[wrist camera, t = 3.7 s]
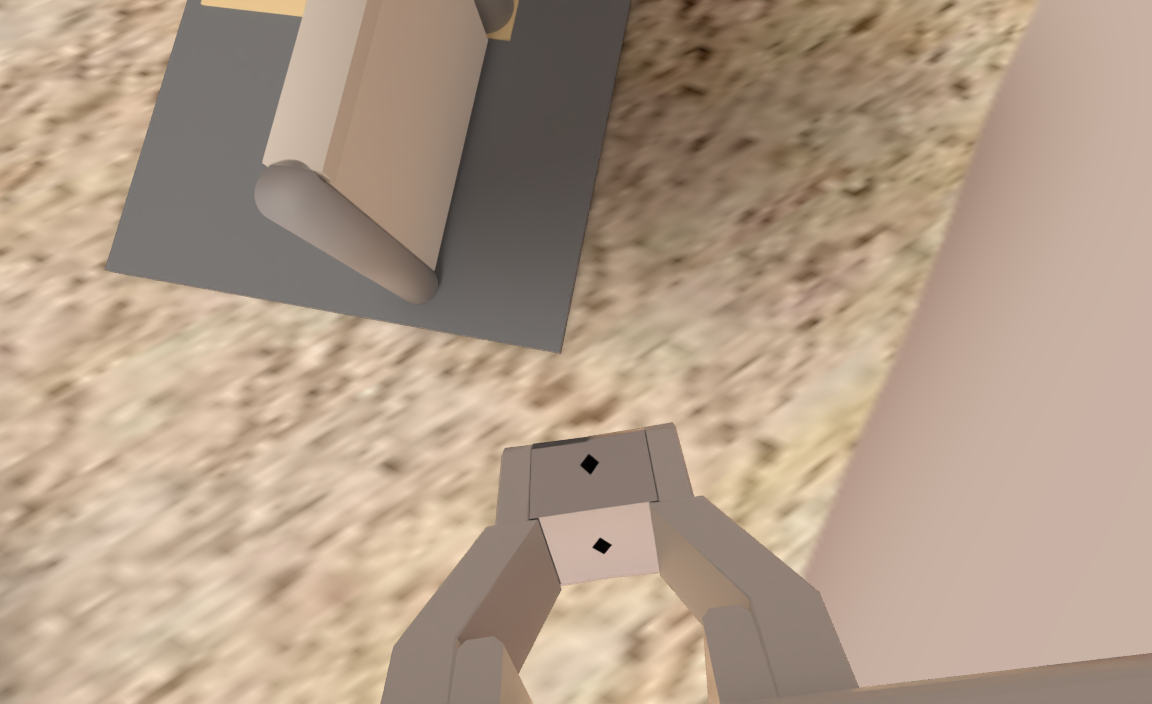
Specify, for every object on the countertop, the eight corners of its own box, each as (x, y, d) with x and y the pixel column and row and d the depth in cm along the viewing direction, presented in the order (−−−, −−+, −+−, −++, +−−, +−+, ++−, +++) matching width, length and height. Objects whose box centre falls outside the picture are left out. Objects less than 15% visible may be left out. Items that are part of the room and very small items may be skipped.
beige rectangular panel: (395, 300, 22) (246, 216, 14) (457, 39, 24) (359, -187, 15) (433, 307, 22) (307, 226, 14) (493, 43, 24) (415, -183, 15)
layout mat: (113, 272, 25) (102, 269, 24) (261, -217, 28) (255, -229, 27) (560, 353, 22) (559, 351, 22) (669, -191, 25) (670, -203, 25)
